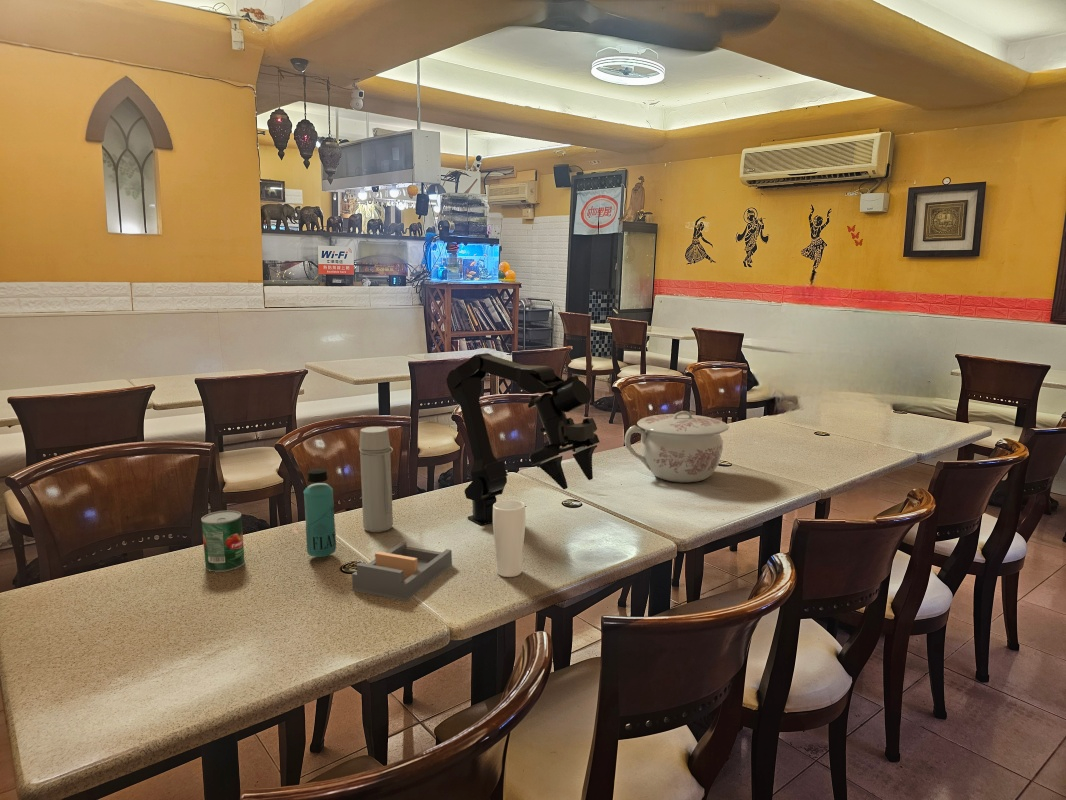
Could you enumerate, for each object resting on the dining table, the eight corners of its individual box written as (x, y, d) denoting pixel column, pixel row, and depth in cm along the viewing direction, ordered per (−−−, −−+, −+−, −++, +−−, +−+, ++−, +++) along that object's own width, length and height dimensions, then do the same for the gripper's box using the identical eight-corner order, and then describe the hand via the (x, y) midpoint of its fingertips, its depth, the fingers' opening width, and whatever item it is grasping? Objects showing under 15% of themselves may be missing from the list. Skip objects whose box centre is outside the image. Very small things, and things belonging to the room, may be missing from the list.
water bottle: (356, 528, 175) (351, 429, 170) (382, 520, 180) (379, 424, 176) (378, 538, 169) (373, 435, 164) (405, 529, 174) (401, 430, 170)
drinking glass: (521, 581, 146) (521, 511, 143) (489, 578, 147) (488, 509, 144) (528, 567, 152) (528, 500, 149) (497, 565, 153) (497, 498, 151)
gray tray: (402, 556, 158) (401, 532, 157) (451, 565, 153) (451, 540, 152) (352, 590, 141) (351, 563, 140) (406, 601, 137) (405, 573, 136)
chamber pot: (738, 472, 223) (741, 408, 219) (709, 496, 200) (712, 424, 196) (654, 460, 238) (656, 399, 234) (618, 480, 215) (620, 413, 211)
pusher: (379, 574, 147) (378, 551, 146) (418, 581, 143) (417, 558, 143) (376, 576, 146) (375, 553, 145) (415, 583, 142) (414, 560, 141)
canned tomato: (205, 561, 156) (201, 513, 154) (244, 555, 159) (240, 508, 157) (205, 575, 148) (200, 525, 146) (245, 568, 151) (241, 519, 149)
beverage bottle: (309, 565, 153) (304, 476, 149) (304, 554, 159) (298, 468, 155) (340, 560, 156) (335, 472, 152) (333, 549, 162) (329, 464, 158)
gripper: (552, 413, 149) (578, 483, 147) (604, 401, 163) (629, 465, 161) (517, 430, 156) (542, 497, 154) (569, 417, 170) (593, 478, 168)
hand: (578, 484), depth 159 cm, fingers open, 9 cm apart
